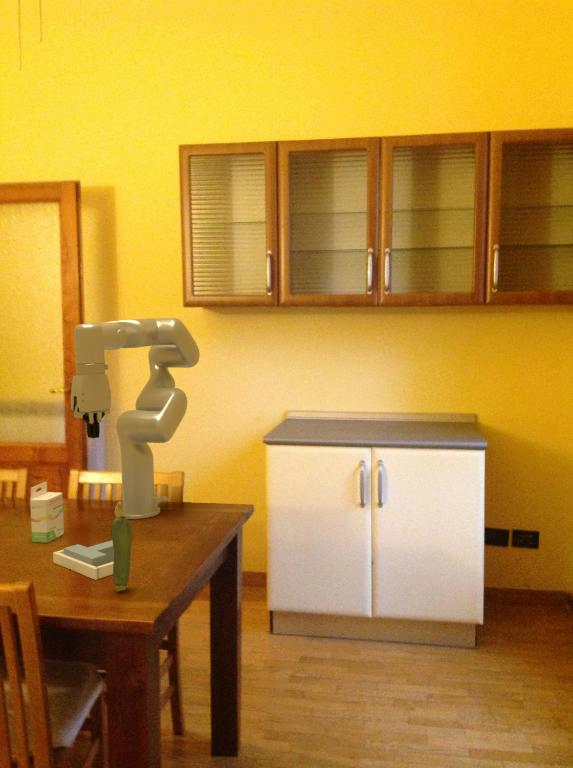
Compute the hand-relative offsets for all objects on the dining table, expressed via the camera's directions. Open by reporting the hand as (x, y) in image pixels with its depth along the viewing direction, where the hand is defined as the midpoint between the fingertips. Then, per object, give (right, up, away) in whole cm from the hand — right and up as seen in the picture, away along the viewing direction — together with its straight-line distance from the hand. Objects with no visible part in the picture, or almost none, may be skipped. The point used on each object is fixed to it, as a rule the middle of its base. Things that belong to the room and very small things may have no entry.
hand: (93, 437), depth 187 cm
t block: (+7, -29, -20) cm, 36 cm away
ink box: (-12, -28, 0) cm, 30 cm away
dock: (+4, -29, -23) cm, 37 cm away
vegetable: (+17, -31, -37) cm, 51 cm away
